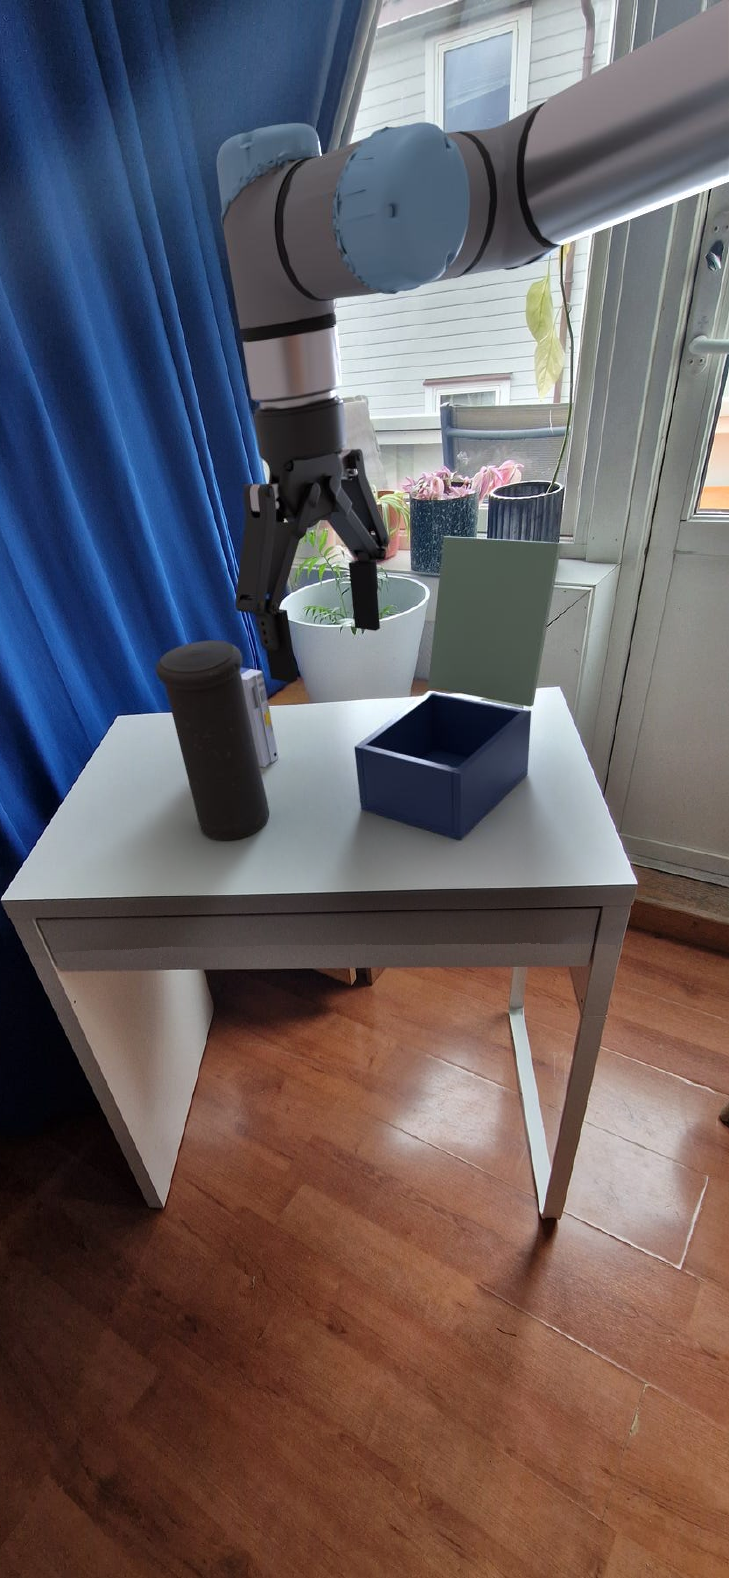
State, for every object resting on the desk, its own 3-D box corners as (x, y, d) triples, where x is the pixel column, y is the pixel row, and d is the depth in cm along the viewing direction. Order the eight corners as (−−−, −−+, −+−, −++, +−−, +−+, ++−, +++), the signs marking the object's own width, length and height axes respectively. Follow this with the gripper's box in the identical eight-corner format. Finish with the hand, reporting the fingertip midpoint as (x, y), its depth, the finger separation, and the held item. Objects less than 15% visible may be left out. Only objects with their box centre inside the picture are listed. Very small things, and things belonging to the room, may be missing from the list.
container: (277, 797, 89) (245, 629, 76) (267, 841, 82) (230, 664, 70) (207, 801, 91) (164, 637, 78) (191, 845, 84) (142, 673, 71)
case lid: (558, 543, 73) (561, 543, 73) (443, 536, 80) (447, 536, 80) (530, 706, 80) (533, 705, 81) (427, 687, 87) (431, 686, 88)
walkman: (220, 756, 99) (199, 668, 92) (234, 746, 101) (215, 659, 93) (265, 768, 95) (247, 677, 87) (279, 758, 96) (262, 668, 89)
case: (460, 840, 78) (460, 774, 73) (360, 809, 85) (354, 746, 80) (527, 774, 86) (531, 710, 81) (431, 751, 93) (429, 690, 88)
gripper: (350, 375, 70) (369, 606, 84) (155, 433, 57) (215, 697, 70) (418, 369, 66) (427, 613, 80) (225, 430, 53) (274, 711, 66)
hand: (327, 653), depth 75 cm, fingers open, 13 cm apart
